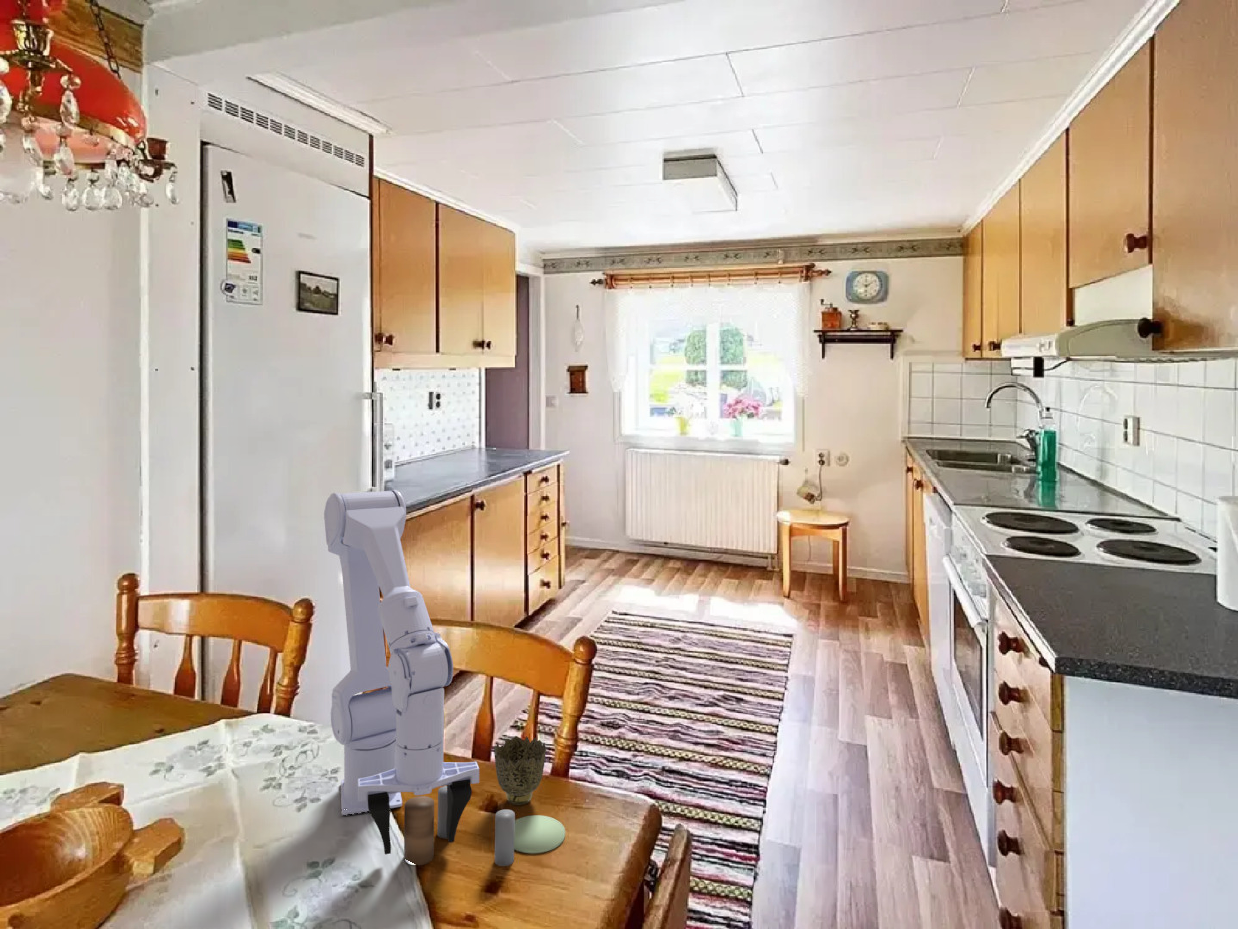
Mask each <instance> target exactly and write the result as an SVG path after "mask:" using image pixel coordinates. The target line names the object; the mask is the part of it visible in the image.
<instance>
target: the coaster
mask: <svg viewBox="0 0 1238 929" xmlns="http://www.w3.org/2000/svg"><path fill="white" fill-rule="evenodd" d="M565 837H566V828H565V826H564V825H563V823H561V821H559V820H557V819H555V818H553V817H550V816H548V815H542V814H541V815H540V814H539V815H537V814H536V815H527V816H522V817H519V818H517V819H515V833H514V851H517V852H520V853H525V854H543V853H546V852H549V851H552V850H555V849H557V848H558V847H559V846H561V845H562V844H563V842H564V841H565Z"/></svg>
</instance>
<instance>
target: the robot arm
mask: <svg viewBox="0 0 1238 929" xmlns="http://www.w3.org/2000/svg"><path fill="white" fill-rule="evenodd" d="M323 515H324V516H323V518H324V528H325V529H324V530H325V540H326V546H327V550H328V552H329V553H330V554H334V555H337V556H338V557H339V560H340V561H339V562H340V566H341V575H342V576H341V577H342V586H343V597H344V608H345V610H344V611H345V619H346V632H347V642H348V643H347V644H348V655H349V664H350V665H349V666H350V671H349V672H348V673H347V674H346V675H345V676H344V677H343V678H341V680H340V681H339V682H337V684H336V685H335V686H334V687H333V689H332V690H331V692H332V693H331V709H330V724H331V731H332V734H333V736H334V738H335V740H336V741H337V742H338V743H339V744H341V745H343V746H344V747H343V749H344V750H343V755H344V756H343V757H344V758H343V759H344V761H343V762H344V764H343V765H344V766H343V769H344V770H343V772H344V776H343V779H341V780H340V795H341V797H340V798H341V801H340V804H341V808H340V809H342V811H341V816H343V815H346V816H348V815H347V814H352V815H354V814H353V813H358V814H361V813H360V812H365V813H368V812H367V811H369V813H370V816H371V818H372V820H373V821H374V822H375V824H376V826H377V828H378V832H379V834H380V837H381V839H382V843H383V852H384V855H389V854H392V853H391V852H392V851H391V850H392V845H391V835H390V834H391V832H390V826H391V825H390V822H391V821H390V820H391V809H394V808H400V807H402V806H403V798H402V794H401V793H413V794H414V796H425V795H428V794H431V793H432V791H433V789H436V788H440V787H443V786H447V804H448V807H447V821H446V835H447V838H448V839H447V841H448V843H449V844H450V843H451V844H452V843H454V842H455V838H456V834H457V829H458V825H459V822H460V820H461V817H462V815H463V812H464V810H465V808H466V807H467V804H469V802H470V800H471V798H472V792H473V790H472V787H471V786H472V785H471V784H479V783H480V767H479V764H478V762H477V761H469V762H458V761H457V762H456V761H455V762H453V761H452V762H451V761H450V762H445V761H444V741H445V740H444V731H445V728H444V727H445V717H444V716H445V688H444V687H447V686H449V685H450V684H451V683H452V681H453V676H454V663H453V662H454V661H453V657H452V653H451V649H450V646H449V645H448V643H447V642H446V641H445V640H444V639H442V636H441V633H439V632H435V630H434V628H433V624H432V621H431V619H430V615H429V612H428V609H427V605H426V602H425V600H424V596H423V595H422V593H421V592H420V591H418V590H416V589H413V588H412V587H411V584H410V578H409V574H408V570H407V564H406V561H405V556H404V550H403V545H402V542H401V538H402V536H403V533H404V531H405V525H406V520H407V506H406V501H405V498H404V497H403V495H402V493H401V492H400V491H399V490H397V489H389V490H382V491H365V492H364V491H363V492H345V493H339V492H333V493H331V494H330V496H329V497H328V498H327V500H326V502H325V506H324V512H323ZM380 592H381V594H382V596H383V598H382V600H381V596H380ZM384 636H385V637H384ZM384 638H385V639H386V642H387V645H388V649H389V650H388V651H389V654H390V657H389V659H388V665H387V658H386V649H385V639H384ZM359 693H360V694H359ZM344 809H345V810H344ZM346 809H347V810H346ZM455 833H456V834H455Z"/></svg>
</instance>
